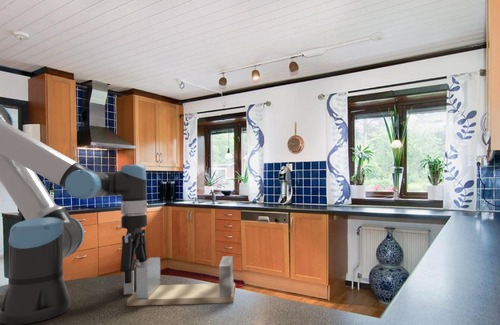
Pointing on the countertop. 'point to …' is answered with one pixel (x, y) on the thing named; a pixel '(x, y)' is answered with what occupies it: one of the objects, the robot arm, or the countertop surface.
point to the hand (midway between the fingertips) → (135, 288)
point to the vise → (193, 290)
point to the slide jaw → (148, 277)
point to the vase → (135, 265)
